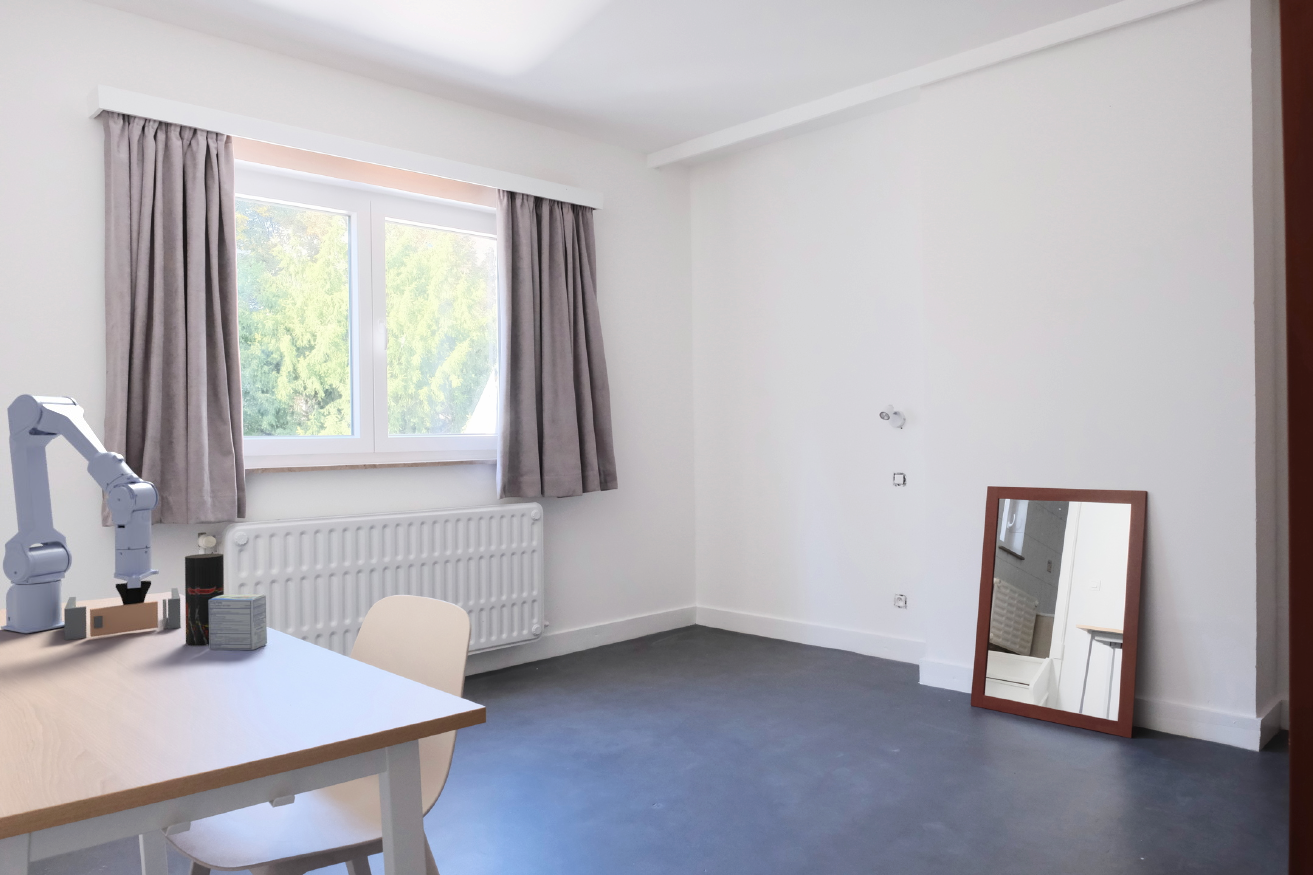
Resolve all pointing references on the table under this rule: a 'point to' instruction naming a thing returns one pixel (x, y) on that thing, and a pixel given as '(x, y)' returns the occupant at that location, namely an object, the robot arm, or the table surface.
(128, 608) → the door
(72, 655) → the table surface
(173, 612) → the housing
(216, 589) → the deodorant
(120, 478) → the robot arm
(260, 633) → the medicine box
